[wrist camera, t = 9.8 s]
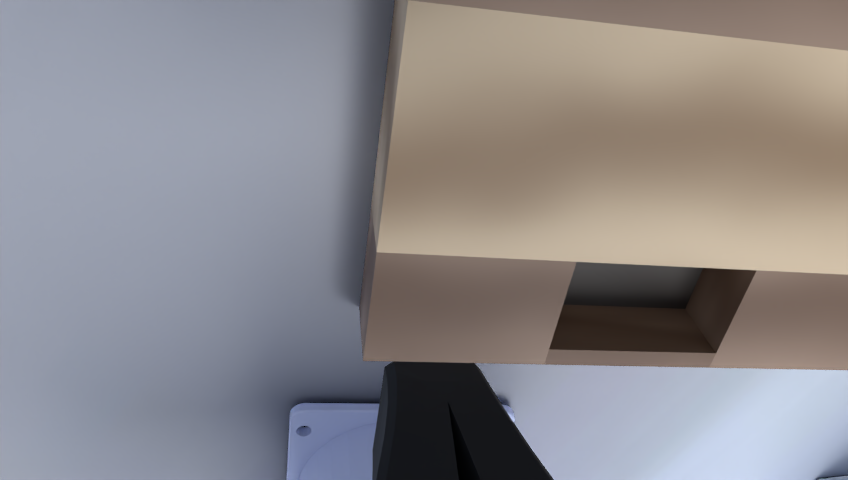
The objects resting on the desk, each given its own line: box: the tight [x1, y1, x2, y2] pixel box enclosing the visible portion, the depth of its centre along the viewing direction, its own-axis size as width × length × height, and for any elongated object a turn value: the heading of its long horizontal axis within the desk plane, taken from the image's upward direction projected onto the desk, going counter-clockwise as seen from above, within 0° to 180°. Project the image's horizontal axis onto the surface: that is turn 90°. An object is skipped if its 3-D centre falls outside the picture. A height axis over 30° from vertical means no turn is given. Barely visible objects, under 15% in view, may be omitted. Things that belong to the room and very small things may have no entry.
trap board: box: [359, 0, 848, 370], centre depth 18 cm, size 14×24×5 cm, turn 82°
